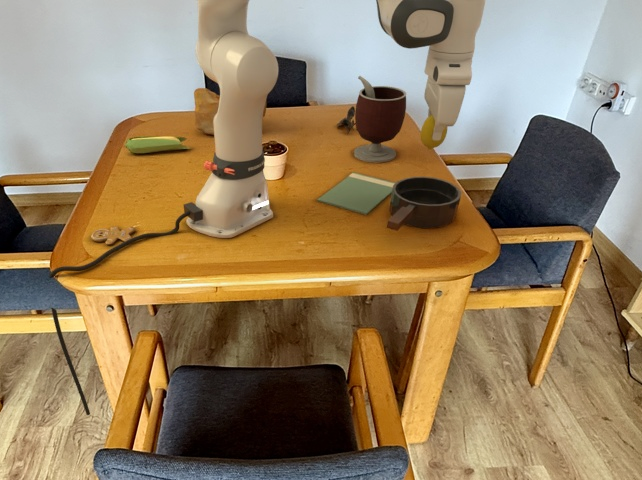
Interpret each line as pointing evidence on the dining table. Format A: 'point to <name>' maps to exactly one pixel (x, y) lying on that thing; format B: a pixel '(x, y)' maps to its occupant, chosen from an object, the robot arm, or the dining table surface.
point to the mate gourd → (378, 120)
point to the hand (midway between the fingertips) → (433, 133)
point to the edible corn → (154, 144)
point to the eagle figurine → (348, 120)
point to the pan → (426, 201)
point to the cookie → (112, 235)
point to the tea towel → (358, 193)
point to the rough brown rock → (207, 109)
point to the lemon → (427, 134)
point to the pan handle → (400, 217)
